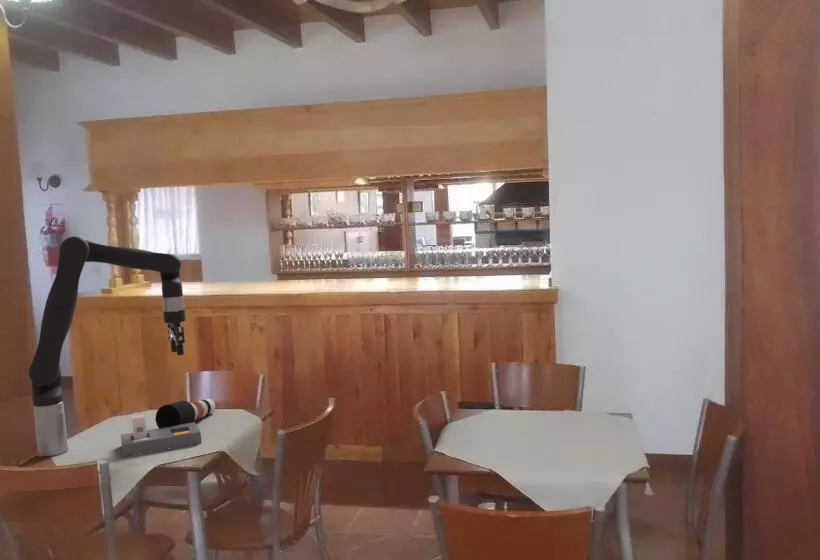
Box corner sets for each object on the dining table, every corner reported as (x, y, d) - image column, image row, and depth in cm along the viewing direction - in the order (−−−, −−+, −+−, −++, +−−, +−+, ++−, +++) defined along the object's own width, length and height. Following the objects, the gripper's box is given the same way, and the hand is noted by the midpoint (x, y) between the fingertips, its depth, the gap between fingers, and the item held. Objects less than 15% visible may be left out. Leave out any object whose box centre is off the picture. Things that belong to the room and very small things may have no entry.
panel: (123, 457, 242) (122, 444, 241) (121, 446, 254) (120, 434, 254) (201, 443, 252) (200, 431, 251) (195, 433, 264) (194, 421, 264)
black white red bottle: (220, 421, 296) (230, 398, 295) (173, 438, 263) (184, 412, 262) (200, 409, 298) (209, 387, 297) (151, 424, 265) (161, 399, 264)
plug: (135, 451, 247) (132, 419, 246) (134, 447, 251) (131, 416, 250) (148, 449, 249) (145, 417, 248) (147, 445, 253) (144, 414, 252)
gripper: (158, 308, 269) (162, 352, 271) (167, 311, 257) (171, 357, 258) (179, 306, 273) (183, 349, 275) (189, 309, 261) (193, 354, 262)
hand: (177, 353), depth 267 cm, fingers open, 8 cm apart
